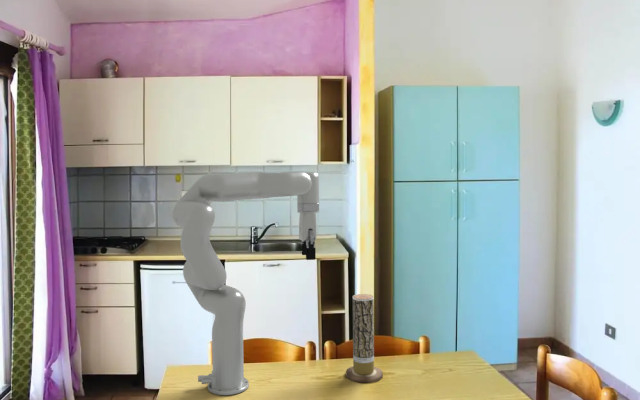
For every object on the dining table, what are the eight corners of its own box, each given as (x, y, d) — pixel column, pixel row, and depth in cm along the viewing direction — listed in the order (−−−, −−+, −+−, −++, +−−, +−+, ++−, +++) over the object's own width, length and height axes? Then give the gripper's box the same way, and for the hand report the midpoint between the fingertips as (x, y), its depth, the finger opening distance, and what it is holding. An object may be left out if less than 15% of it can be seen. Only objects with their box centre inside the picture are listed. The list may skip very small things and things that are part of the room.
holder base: (350, 384, 168) (350, 380, 167) (342, 370, 179) (342, 366, 179) (387, 381, 170) (387, 377, 170) (376, 367, 181) (376, 363, 181)
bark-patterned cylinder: (373, 376, 170) (372, 299, 169) (351, 375, 172) (351, 298, 170) (375, 368, 177) (374, 294, 175) (354, 367, 178) (354, 293, 177)
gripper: (294, 206, 191) (294, 253, 192) (300, 210, 174) (301, 262, 175) (314, 205, 192) (315, 252, 193) (323, 209, 175) (323, 261, 176)
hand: (308, 257), depth 184 cm, fingers open, 9 cm apart
